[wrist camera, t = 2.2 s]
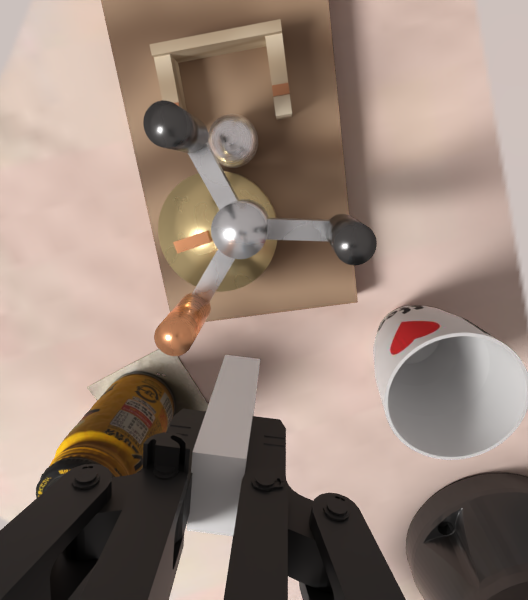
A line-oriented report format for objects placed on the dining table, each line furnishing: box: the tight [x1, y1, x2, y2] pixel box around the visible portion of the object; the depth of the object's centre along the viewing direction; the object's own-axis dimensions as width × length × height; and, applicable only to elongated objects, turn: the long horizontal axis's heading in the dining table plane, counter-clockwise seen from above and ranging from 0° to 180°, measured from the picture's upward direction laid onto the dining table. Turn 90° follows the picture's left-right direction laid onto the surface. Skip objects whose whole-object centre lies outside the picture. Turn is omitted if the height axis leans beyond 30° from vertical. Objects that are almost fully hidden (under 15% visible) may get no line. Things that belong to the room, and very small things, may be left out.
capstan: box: [143, 100, 377, 356], centre depth 25 cm, size 13×12×10 cm
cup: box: [373, 306, 528, 460], centre depth 29 cm, size 8×8×10 cm
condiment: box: [36, 349, 208, 498], centre depth 31 cm, size 7×8×12 cm
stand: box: [101, 0, 358, 322], centre depth 29 cm, size 22×14×4 cm, turn 9°
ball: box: [208, 114, 258, 168], centre depth 27 cm, size 3×3×3 cm
